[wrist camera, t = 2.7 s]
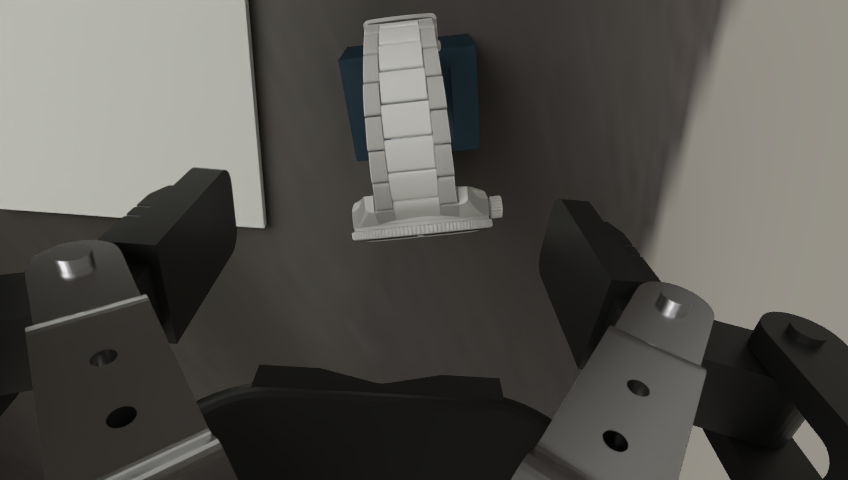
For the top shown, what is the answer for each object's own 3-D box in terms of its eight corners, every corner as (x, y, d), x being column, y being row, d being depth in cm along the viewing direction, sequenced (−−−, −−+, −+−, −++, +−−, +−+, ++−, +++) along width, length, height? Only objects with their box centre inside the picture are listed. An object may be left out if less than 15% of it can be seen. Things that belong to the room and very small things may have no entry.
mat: (-194, -272, 16) (-211, -278, 16) (230, -214, 17) (226, -218, 17) (-1, 203, 25) (-9, 208, 25) (266, 223, 26) (264, 228, 26)
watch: (369, 174, 25) (343, 308, 15) (339, 4, 21) (279, 46, 11) (476, 163, 25) (515, 292, 15) (468, -11, 20) (516, 20, 11)
